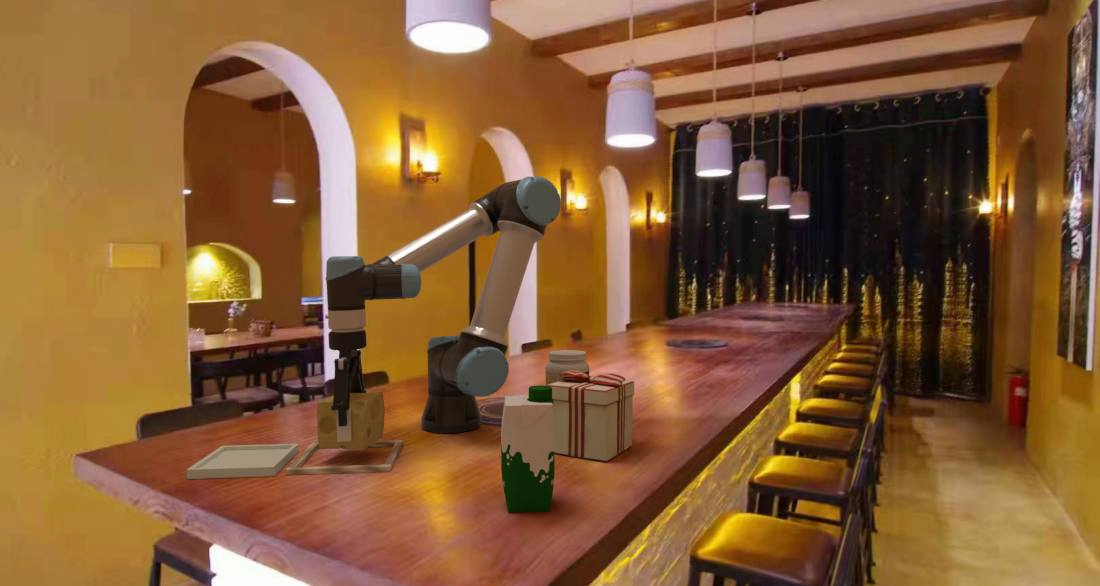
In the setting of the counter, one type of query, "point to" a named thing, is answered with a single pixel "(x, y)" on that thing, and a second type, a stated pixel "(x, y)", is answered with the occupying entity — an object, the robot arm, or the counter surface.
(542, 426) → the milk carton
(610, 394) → the gift box
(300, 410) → the counter surface
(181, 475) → the counter surface
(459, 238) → the robot arm
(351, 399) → the cheese
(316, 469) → the wooden square frame
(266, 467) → the plate
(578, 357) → the supplement tub
